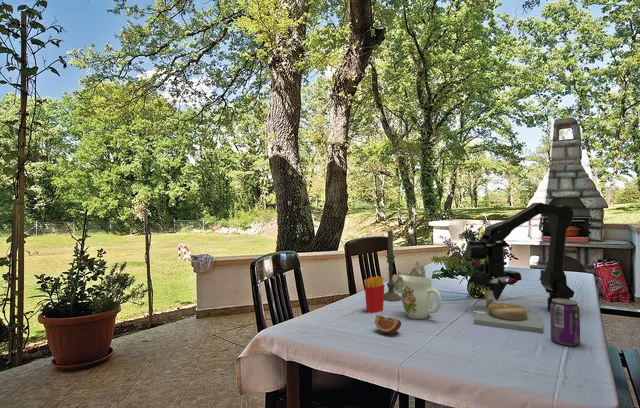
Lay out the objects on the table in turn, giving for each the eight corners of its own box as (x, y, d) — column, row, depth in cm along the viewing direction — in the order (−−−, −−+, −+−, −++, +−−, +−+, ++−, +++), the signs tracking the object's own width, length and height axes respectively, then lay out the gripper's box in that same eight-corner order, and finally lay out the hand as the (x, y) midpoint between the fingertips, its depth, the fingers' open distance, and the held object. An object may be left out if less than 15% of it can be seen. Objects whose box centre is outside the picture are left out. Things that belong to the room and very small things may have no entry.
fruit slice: (371, 332, 114) (370, 316, 114) (383, 327, 119) (383, 311, 119) (393, 338, 108) (393, 322, 109) (405, 333, 113) (405, 317, 113)
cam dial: (535, 319, 121) (535, 300, 121) (503, 321, 119) (502, 302, 119) (502, 305, 138) (501, 289, 138) (473, 306, 136) (472, 290, 136)
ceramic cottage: (433, 289, 174) (431, 258, 174) (418, 297, 161) (415, 263, 162) (404, 286, 184) (401, 257, 184) (388, 294, 171) (385, 262, 172)
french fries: (378, 307, 142) (378, 274, 143) (387, 309, 139) (386, 276, 139) (361, 311, 137) (361, 277, 137) (369, 314, 133) (369, 279, 134)
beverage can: (585, 348, 100) (584, 304, 100) (557, 346, 102) (556, 303, 102) (573, 338, 107) (572, 298, 107) (546, 337, 109) (546, 297, 109)
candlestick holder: (404, 297, 158) (404, 229, 158) (397, 302, 150) (396, 230, 151) (385, 295, 163) (384, 228, 163) (376, 299, 155) (376, 229, 155)
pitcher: (430, 326, 119) (430, 284, 120) (390, 313, 134) (389, 276, 134) (450, 320, 126) (450, 280, 126) (409, 308, 140) (409, 273, 141)
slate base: (539, 316, 130) (539, 311, 130) (543, 333, 112) (543, 328, 112) (475, 308, 140) (475, 304, 140) (470, 323, 122) (470, 318, 122)
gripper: (499, 254, 147) (500, 292, 147) (460, 257, 142) (461, 296, 142) (522, 258, 136) (522, 299, 136) (480, 261, 131) (481, 304, 131)
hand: (496, 299), depth 137 cm, fingers closed
